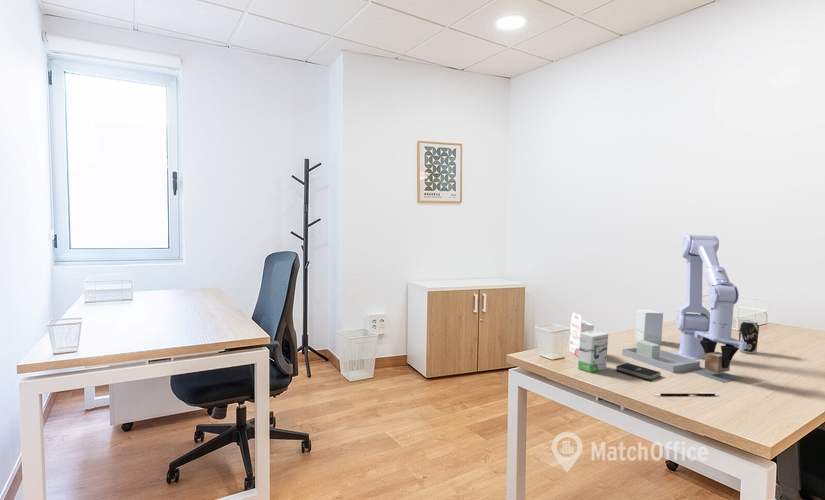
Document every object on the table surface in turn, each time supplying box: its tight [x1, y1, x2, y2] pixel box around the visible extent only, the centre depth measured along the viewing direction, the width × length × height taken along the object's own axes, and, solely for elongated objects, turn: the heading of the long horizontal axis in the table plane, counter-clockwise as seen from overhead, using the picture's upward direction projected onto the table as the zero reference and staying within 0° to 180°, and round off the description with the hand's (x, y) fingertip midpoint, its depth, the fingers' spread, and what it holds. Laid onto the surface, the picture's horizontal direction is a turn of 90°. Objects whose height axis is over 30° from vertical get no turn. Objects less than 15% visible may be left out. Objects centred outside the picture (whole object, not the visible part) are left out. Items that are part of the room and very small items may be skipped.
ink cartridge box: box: [568, 311, 595, 358], centre depth 158 cm, size 9×5×15 cm, turn 5°
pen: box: [653, 392, 720, 397], centre depth 123 cm, size 1×19×1 cm, turn 94°
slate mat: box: [690, 368, 744, 384], centre depth 139 cm, size 10×10×1 cm
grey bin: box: [621, 346, 701, 373], centre depth 152 cm, size 13×19×2 cm
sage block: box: [636, 340, 661, 360], centre depth 156 cm, size 4×6×5 cm, turn 24°
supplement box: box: [634, 308, 664, 345], centre depth 178 cm, size 7×7×13 cm
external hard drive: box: [615, 362, 661, 382], centre depth 139 cm, size 7×11×2 cm, turn 36°
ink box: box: [577, 330, 609, 373], centre depth 143 cm, size 9×5×12 cm, turn 123°
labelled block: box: [703, 351, 731, 373], centre depth 139 cm, size 4×6×5 cm, turn 114°
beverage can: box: [738, 319, 760, 355], centre depth 167 cm, size 6×6×12 cm
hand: (717, 365), depth 139 cm, fingers closed on labelled block, 4 cm apart
